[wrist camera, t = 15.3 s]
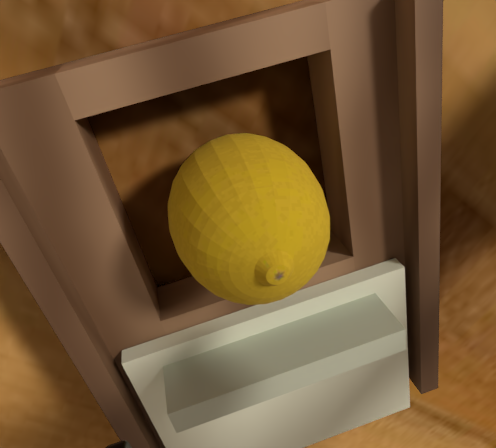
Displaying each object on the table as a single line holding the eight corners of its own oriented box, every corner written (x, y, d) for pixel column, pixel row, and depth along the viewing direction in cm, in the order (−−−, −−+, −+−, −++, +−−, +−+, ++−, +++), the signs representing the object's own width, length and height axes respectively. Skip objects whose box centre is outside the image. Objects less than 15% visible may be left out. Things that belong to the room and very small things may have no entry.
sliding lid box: (383, -21, 17) (443, -25, 14) (401, 341, 27) (438, 387, 24) (-35, 89, 15) (-78, 114, 12) (150, 431, 25) (153, 495, 22)
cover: (395, 257, 20) (439, 300, 17) (402, 395, 25) (437, 446, 22) (121, 350, 19) (120, 413, 16) (186, 476, 24) (194, 542, 21)
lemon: (222, 251, 21) (266, 378, 14) (133, 176, 18) (133, 286, 11) (309, 173, 20) (403, 266, 13) (230, 82, 17) (294, 138, 10)
